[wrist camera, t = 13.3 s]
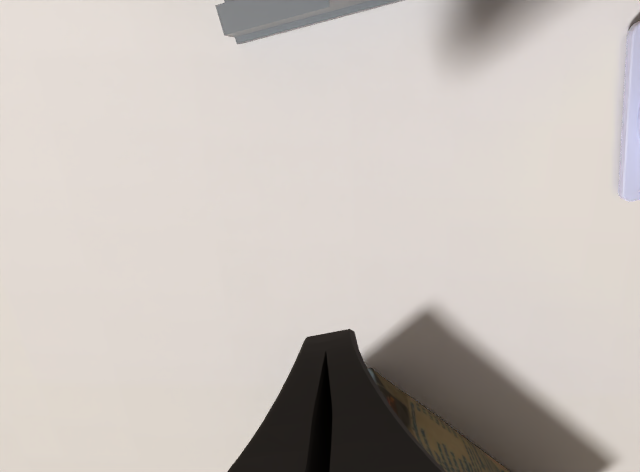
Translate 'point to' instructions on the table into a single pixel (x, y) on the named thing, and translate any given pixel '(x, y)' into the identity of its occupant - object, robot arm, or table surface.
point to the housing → (284, 15)
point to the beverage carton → (436, 433)
